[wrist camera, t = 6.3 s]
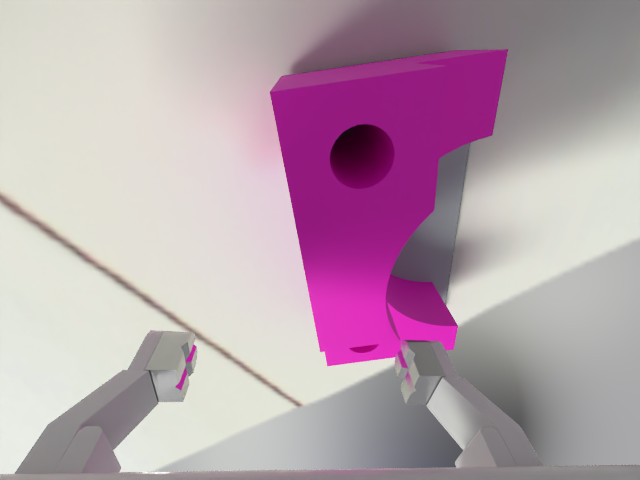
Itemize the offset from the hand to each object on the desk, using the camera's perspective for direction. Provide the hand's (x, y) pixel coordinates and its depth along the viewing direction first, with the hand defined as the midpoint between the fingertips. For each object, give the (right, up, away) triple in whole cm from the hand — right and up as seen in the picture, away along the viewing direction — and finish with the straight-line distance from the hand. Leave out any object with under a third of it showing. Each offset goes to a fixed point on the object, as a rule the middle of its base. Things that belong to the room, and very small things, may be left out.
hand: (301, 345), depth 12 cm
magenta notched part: (0, +3, +2) cm, 4 cm away
